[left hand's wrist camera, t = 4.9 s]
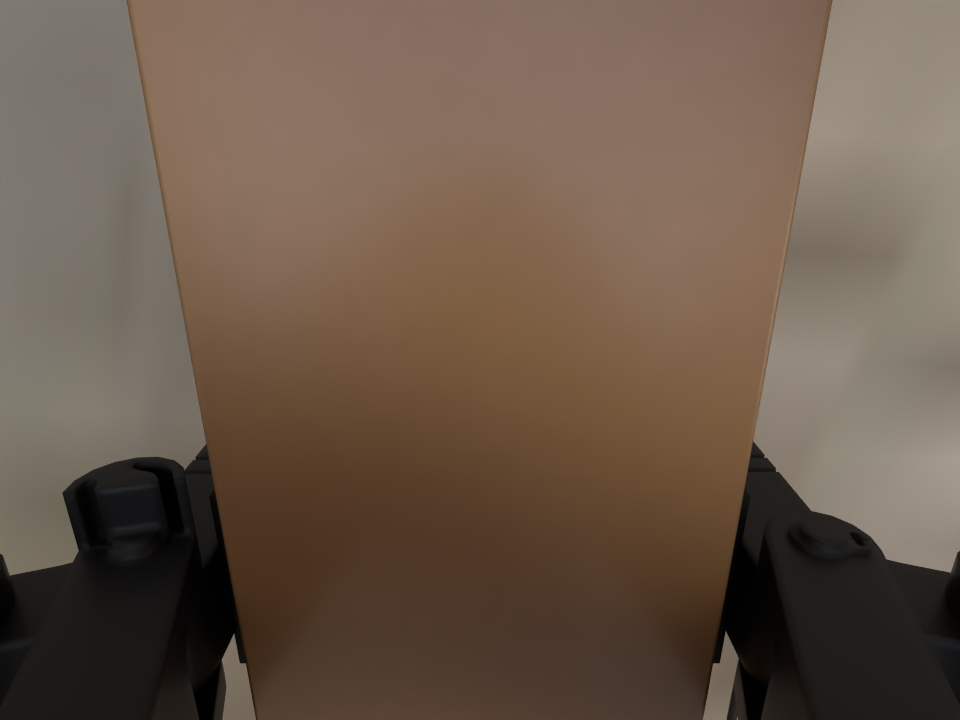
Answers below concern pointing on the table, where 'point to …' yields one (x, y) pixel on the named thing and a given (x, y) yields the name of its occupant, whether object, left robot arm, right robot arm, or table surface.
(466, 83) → the beam
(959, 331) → the table surface
